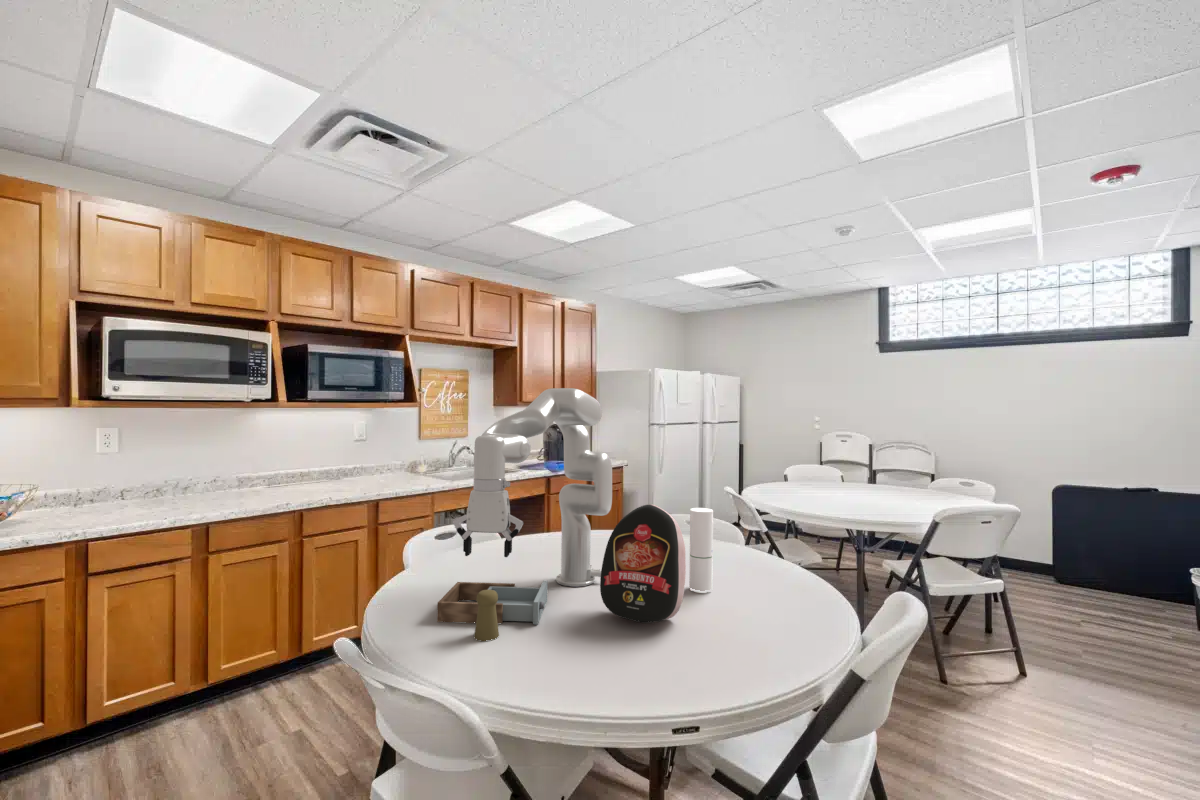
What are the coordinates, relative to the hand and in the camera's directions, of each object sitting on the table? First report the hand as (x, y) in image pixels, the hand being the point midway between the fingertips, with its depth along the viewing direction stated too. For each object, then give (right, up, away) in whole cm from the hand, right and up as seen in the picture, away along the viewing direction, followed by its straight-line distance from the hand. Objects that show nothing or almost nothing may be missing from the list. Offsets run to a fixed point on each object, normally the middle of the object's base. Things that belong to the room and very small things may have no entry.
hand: (487, 555), depth 132 cm
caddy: (-5, -20, +16) cm, 26 cm away
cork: (0, -20, 0) cm, 20 cm away
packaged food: (+39, -21, +13) cm, 46 cm away
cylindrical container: (+59, -22, +36) cm, 73 cm away
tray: (+4, -20, +16) cm, 26 cm away
